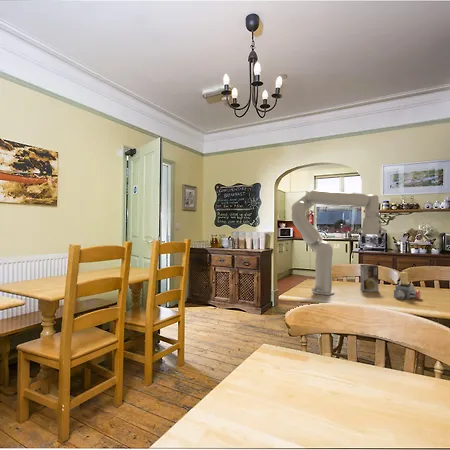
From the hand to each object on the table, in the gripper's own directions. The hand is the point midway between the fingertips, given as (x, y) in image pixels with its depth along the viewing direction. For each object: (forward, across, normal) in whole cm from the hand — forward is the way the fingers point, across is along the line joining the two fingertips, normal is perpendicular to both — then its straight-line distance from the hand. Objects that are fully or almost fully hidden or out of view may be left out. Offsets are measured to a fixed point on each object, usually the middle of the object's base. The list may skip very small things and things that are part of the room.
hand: (371, 243), depth 184 cm
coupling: (+26, -16, -7) cm, 31 cm away
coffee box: (+31, +5, -8) cm, 32 cm away
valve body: (+31, -18, -7) cm, 36 cm away
